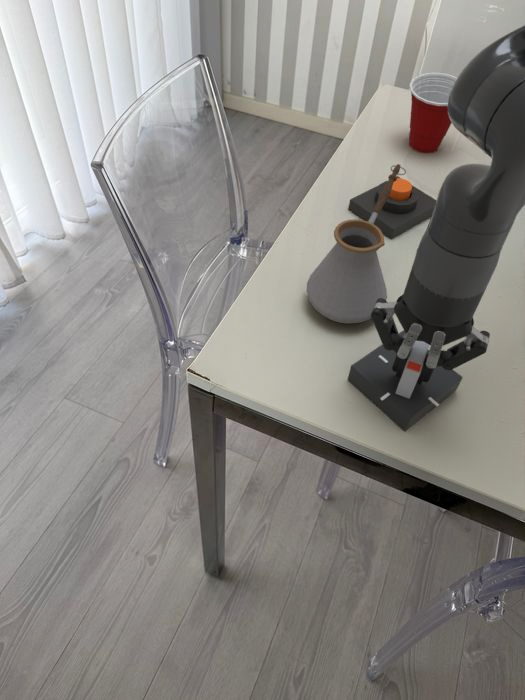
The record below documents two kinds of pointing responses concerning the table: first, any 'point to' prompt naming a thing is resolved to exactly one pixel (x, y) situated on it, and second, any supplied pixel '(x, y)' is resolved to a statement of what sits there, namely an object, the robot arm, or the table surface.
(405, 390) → the timer knob
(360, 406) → the table surface
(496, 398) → the table surface
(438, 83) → the plastic cup
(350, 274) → the coffee pot
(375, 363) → the timer panel
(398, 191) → the power button
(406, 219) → the block
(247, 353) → the table surface
